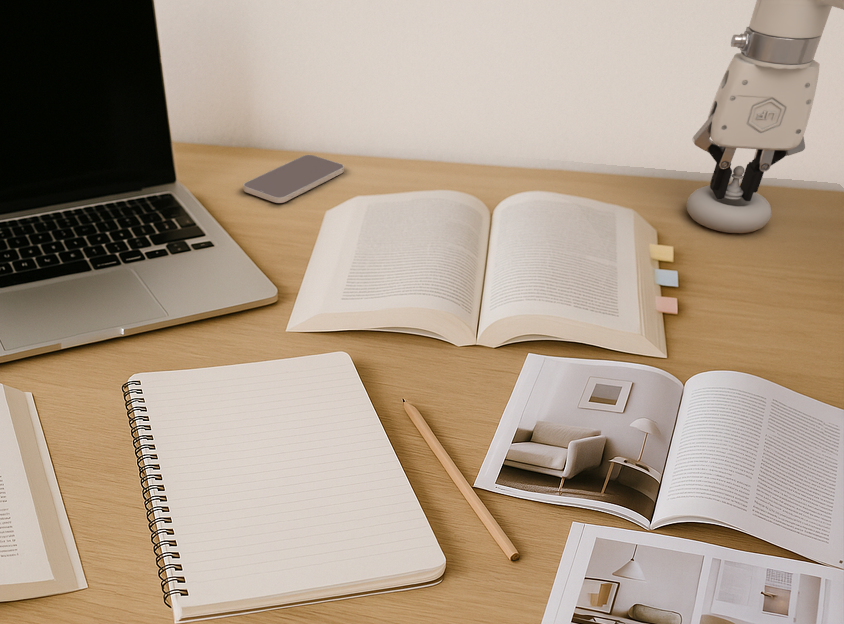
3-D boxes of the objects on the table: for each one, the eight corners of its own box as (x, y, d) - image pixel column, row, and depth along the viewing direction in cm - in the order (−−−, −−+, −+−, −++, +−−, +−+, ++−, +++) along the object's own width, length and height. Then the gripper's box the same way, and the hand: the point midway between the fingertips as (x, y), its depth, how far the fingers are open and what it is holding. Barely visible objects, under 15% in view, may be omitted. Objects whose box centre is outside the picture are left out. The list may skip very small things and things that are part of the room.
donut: (678, 201, 114) (688, 233, 106) (685, 177, 112) (696, 207, 104) (758, 208, 112) (774, 241, 104) (766, 184, 110) (783, 215, 102)
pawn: (719, 198, 106) (728, 168, 104) (719, 190, 108) (729, 160, 106) (741, 201, 106) (751, 171, 103) (741, 193, 107) (751, 163, 105)
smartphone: (347, 165, 122) (280, 199, 112) (347, 171, 122) (280, 205, 113) (307, 153, 125) (239, 184, 116) (307, 159, 126) (239, 191, 116)
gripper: (712, 53, 94) (669, 204, 105) (867, 59, 92) (808, 213, 103) (698, 35, 100) (659, 179, 111) (843, 41, 98) (789, 187, 109)
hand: (731, 194), depth 107 cm, fingers closed on pawn, 2 cm apart
